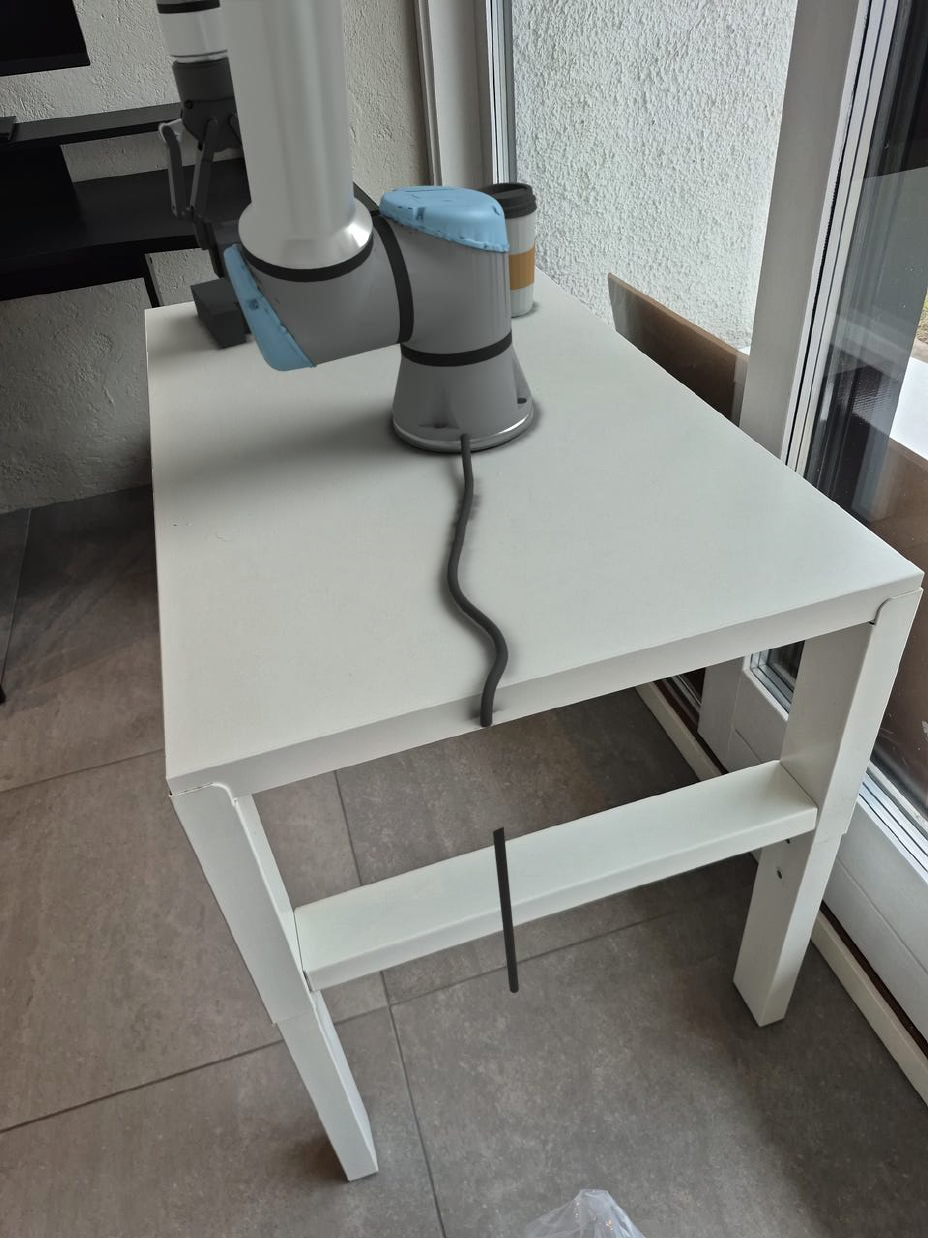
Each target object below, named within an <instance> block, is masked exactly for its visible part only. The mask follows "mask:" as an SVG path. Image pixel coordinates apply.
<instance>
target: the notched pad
mask: <svg viewBox="0 0 928 1238" xmlns="http://www.w3.org/2000/svg"><path fill="white" fill-rule="evenodd" d="M189 287H190V292H191V296H192V299H193V302H194V304H195V309H196V313H197V316H198V318H199V319H200V321H201V322H202V323H203V325H204V326H205V327H206V329H207V330H208V332H209V333H210V335H211V336H212V337H213V339H214V340H215V341H216V342H217V345H219V347H220V348H221V349H225V348H230V347H235V346H237V345H241V344H245V343H247V342H248V340H247V334H250V333H251V334H252V332H251V330H250V328H249V325H248V323H247V320H246V318H245V315H244V313H243V310H242V308H241V305H240V303H239V300H238V298H237V295H236V293H235V290H234V287H233V285H232V282H228V281H227V280H226V279H225V278H216V279H211V280H208V281H203V282H200V283H195V284H194V283H193V284H191V285H189Z"/></svg>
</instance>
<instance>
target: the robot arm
mask: <svg viewBox="0 0 928 1238" xmlns="http://www.w3.org/2000/svg"><path fill="white" fill-rule="evenodd" d="M155 3H156V10H157V12H158V15H159V21H160V24H161V28H162V33H163V37H164V41H165V45H166V49H167V53H168V55H170V56H171V57H172V58H174V59H175V60H174V61H172V65H171V69H172V73H173V77H174V82H175V86H176V90H177V94H178V97H179V101H180V108H181V109H180V114H179V118H177V119H175V120H172V121H170V122H164V121H163V122H159V124H158V126H157V130H158V132H159V135H160V137H161V140H162V141H163V144H164V147H165V152H166V153H165V155H166V162H167V172H168V180H169V181H168V182H169V191H170V198H171V200H170V201H171V210H172V213H173V215H174V216H175V217H176V218H177V219H178V220H179V221H182V222H184V221H186V222H190V223H191V224H192V227H193V232H194V235H195V239H196V243H197V245H198V246H199V248H200V249H201V250H202V251H208V254H209V259H210V263H211V267H212V270H213V273H214V274H215V275H216V277H217V279H220V278H224V277H225V276H224V272H223V268H222V264H221V260H220V256H219V252H218V248H217V244H216V238H215V234H214V231H215V230H214V226H213V222H212V221H211V220H210V218H208V217H207V216H206V215H205V213H206V206H207V200H208V192H209V186H210V177H211V172H212V164H213V161H214V159H215V158H214V157H215V153H216V154H217V153H221V152H223V151H226V150H227V149H229V150H232V149H233V150H238V149H241V150H242V151H243V156H244V161H245V167H246V174H247V180H248V186H249V192H250V193H249V194H250V198H251V203H250V204H248V205H247V206H246V208H245V209H244V210H243V211H242V213H241V215H240V217H239V219H240V220H239V236H240V242H241V245H239V244H233V245H232V246H231V247H229V248H227V249H226V250H225V251H224V258H225V264H226V267H227V270H228V273H229V276H230V279H231V282H232V285H233V287H234V290H235V293H236V295H237V298H238V300H239V303H240V305H241V308H242V310H243V313H244V315H245V318H246V320H247V323H248V325H249V328H250V330H251V335H252V337H253V339H254V341H255V343H256V346H257V348H258V350H259V353H260V355H261V356H262V358H263V359H264V362H265V363H266V365H268V366H269V367H270V368H271V369H273V370H275V371H278V372H289V371H295V370H296V371H297V370H301V369H307V368H309V369H312V368H313V369H314V368H317V367H318V366H319V365H322V364H326V363H330V362H333V361H337V360H341V359H344V358H349V357H352V356H356V355H361V354H364V353H368V352H372V351H376V350H381V349H384V348H388V347H392V346H396V345H399V349H400V362H399V363H400V364H399V370H398V374H397V379H396V385H395V390H394V395H393V401H392V412H391V413H392V422H393V428H394V432H395V434H396V435H397V436H398V437H399V438H400V439H401V440H402V441H404V442H405V443H407V444H409V445H411V446H413V447H416V448H419V449H422V450H426V451H431V452H439V453H440V452H441V453H461V462H462V472H463V481H464V482H463V483H464V488H463V497H462V503H461V508H460V511H459V514H458V519H457V523H456V527H455V533H454V538H453V543H452V547H451V550H450V554H449V557H448V561H447V562H448V563H447V568H446V569H447V570H446V579H447V586H448V589H449V592H450V594H451V596H452V599H453V600H454V602H455V603H456V605H457V606H458V607H459V608H460V609H461V610H462V612H463V613H465V614H466V615H467V616H468V617H469V618H471V619H472V620H473V621H474V622H475V623H476V624H478V625H479V626H480V627H481V628H482V629H483V630H484V631H485V632H486V633H487V634H488V635H489V637H490V638H491V640H492V642H493V645H494V647H495V653H496V654H495V655H496V656H495V657H496V658H495V661H494V664H493V666H492V668H491V670H490V672H489V674H488V676H487V678H486V681H485V683H484V686H483V690H482V692H481V693H482V694H481V698H480V710H479V711H480V712H479V723H480V726H481V727H482V728H485V729H488V728H490V727H492V725H493V712H494V711H493V708H494V698H495V694H496V690H497V687H498V685H499V682H500V681H501V678H502V676H503V674H504V673H505V670H506V668H507V665H508V662H509V661H508V660H509V649H508V648H509V647H508V645H507V642H506V639H505V637H504V635H503V633H502V632H501V630H500V628H499V627H498V625H496V623H494V622H493V620H491V619H490V618H489V617H488V616H487V615H486V614H485V613H483V612H482V611H481V610H480V609H478V607H476V606H475V605H474V604H473V603H471V601H470V600H469V599H468V598H467V597H466V596H465V595H464V593H463V592H462V589H461V587H460V583H459V576H458V575H459V574H458V573H459V572H458V570H459V563H460V558H461V554H462V551H463V546H464V542H465V536H466V530H467V524H468V520H469V516H470V512H471V509H472V504H473V498H474V487H475V485H474V484H475V483H474V473H473V465H472V464H473V463H472V454H471V452H473V451H474V452H475V451H479V450H480V451H481V450H484V449H488V448H492V447H495V446H499V445H501V444H504V443H506V442H508V441H511V440H512V439H514V438H516V437H517V436H519V435H521V434H522V433H523V432H524V431H525V430H526V429H528V427H529V426H530V424H531V423H532V421H533V418H534V401H533V396H532V392H531V388H530V386H529V383H528V381H527V379H526V375H525V373H524V370H523V369H522V366H521V363H520V360H519V358H518V355H517V353H516V351H515V348H514V343H513V327H512V317H511V302H510V281H509V259H508V251H509V244H508V241H507V234H506V227H505V217H504V212H503V210H502V207H501V206H500V204H499V203H498V202H497V201H496V200H495V199H494V198H492V197H491V196H489V195H487V194H484V193H482V192H479V191H476V189H475V190H474V189H471V188H465V187H457V186H450V185H449V186H448V185H415V186H414V185H413V186H405V187H398V188H394V189H393V190H391V191H386V192H384V193H383V194H382V195H381V197H380V200H379V201H380V202H379V205H378V210H379V213H380V214H378V215H375V216H371V215H372V214H371V212H370V211H369V209H368V208H367V207H366V205H365V204H363V203H362V202H361V201H360V200H359V199H357V197H355V196H354V195H355V193H354V178H353V176H354V175H353V162H352V161H353V160H352V146H351V144H352V143H351V129H350V114H349V113H350V111H349V96H348V78H347V60H346V44H345V43H346V42H345V28H344V13H343V0H155ZM185 130H186V131H187V132H188V133H189V134H190V135H191V136H192V137H193V138H194V139H195V140H196V149H195V165H194V171H193V178H192V179H193V180H192V185H191V186H192V188H191V193H190V195H191V196H190V201H189V202H190V203H189V207H187V199H186V198H187V197H186V189H185V178H184V167H183V158H182V150H181V146H180V144H181V143H182V142H183V138H184V137H183V132H184V131H185ZM492 839H493V847H494V857H495V866H496V876H497V877H496V878H497V883H498V886H497V887H498V894H499V895H498V896H499V904H500V913H501V921H502V922H501V923H502V931H503V940H504V941H503V942H504V950H505V958H506V959H505V960H506V967H507V977H508V978H507V979H508V987H509V992H511V993H512V994H516V993H518V992H519V991H520V985H519V975H518V974H519V973H518V964H517V963H518V962H517V954H516V941H515V933H514V932H515V931H514V922H513V921H514V920H513V911H512V900H511V889H510V878H509V870H508V867H509V866H508V859H507V858H508V857H507V847H506V846H507V845H506V835H505V826H501V827H499V828H497V829H495V830H493V831H492Z"/></svg>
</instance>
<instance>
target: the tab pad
mask: <svg viewBox="0 0 928 1238" xmlns="http://www.w3.org/2000/svg"><path fill="white" fill-rule="evenodd" d="M239 220H240V218H237V219H233V220H228V221H224V222H220V223H219V226H220V229H219V228H218V229H215V230H214V234H215V238H216V244H217V248H218V252H219V256H220V260H221V264H222V268H223V272H224V276H225V277H224V278H225V279H226V280H227V281H228V282H231V279H230V276H229V273H228V270H227V267H226V264H225V258H224V251H225V250H226V249H227V248H229V247H231V246H232V245H233V244H239V245H241V242H240V236H239Z"/></svg>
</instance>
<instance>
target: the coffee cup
mask: <svg viewBox="0 0 928 1238" xmlns="http://www.w3.org/2000/svg"><path fill="white" fill-rule="evenodd" d="M475 191H479V192H482V193H484V194H487V195H489V196H491V197H492V198H494V199H495V200H496V201H497V202H498V203H499V204H500V206H501V207H502V210H503V212H504V217H505V227H506V234H507V241H508V244H509V251H508V259H509V281H510V302H511V318H515V317H520V316H523V315H525V314H528V313H529V312H530V311H531V309H532V306H533V304H534V284H535V271H536V270H535V269H536V267H535V266H536V265H535V264H536V212H537V209H538V205H537V197H536V195H535V194H534V192H533V186H531V184H527V183H523V182H514V181H513V182H512V181H511V182H497V183H491V184H488V185H483V186H481V187H479V188H477V189H475Z"/></svg>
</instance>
